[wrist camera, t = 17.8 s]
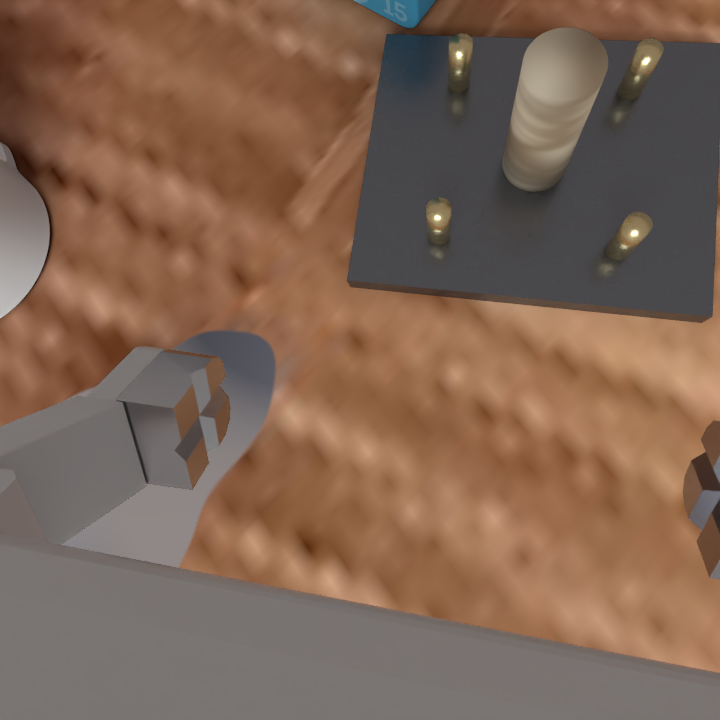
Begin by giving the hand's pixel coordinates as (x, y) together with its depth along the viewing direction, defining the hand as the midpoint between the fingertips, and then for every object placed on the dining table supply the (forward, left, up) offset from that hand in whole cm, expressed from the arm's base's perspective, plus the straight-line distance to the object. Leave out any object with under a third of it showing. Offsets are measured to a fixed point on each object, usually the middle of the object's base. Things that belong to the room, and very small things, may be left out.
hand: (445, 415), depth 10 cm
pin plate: (+4, +21, -29) cm, 37 cm away
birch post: (+4, +21, -28) cm, 35 cm away
